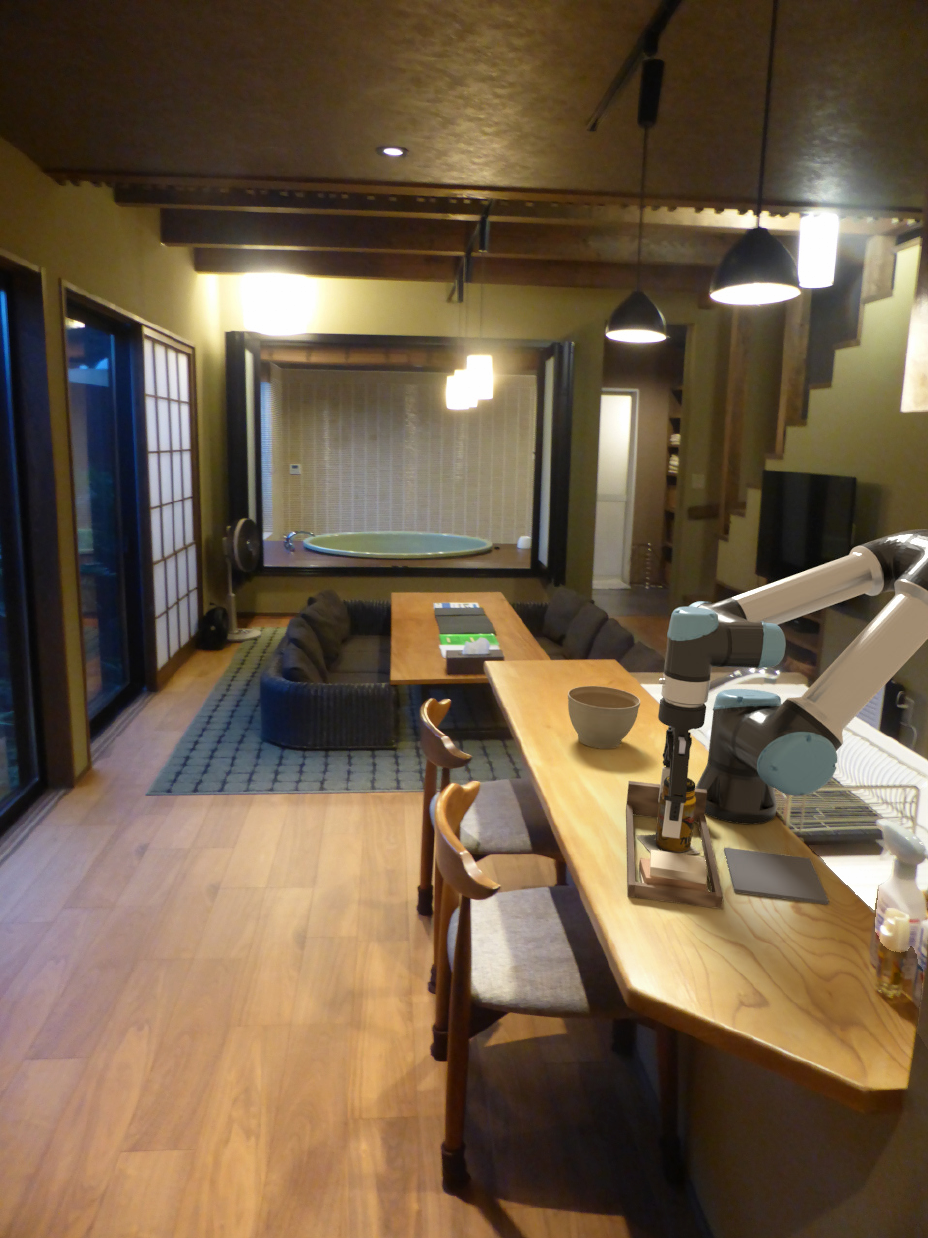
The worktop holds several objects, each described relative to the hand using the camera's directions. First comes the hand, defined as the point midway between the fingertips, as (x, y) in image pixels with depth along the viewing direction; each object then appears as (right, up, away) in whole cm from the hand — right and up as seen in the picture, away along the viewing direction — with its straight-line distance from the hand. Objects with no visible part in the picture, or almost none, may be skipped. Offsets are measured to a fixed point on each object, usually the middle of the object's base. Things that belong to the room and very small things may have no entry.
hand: (668, 819), depth 150 cm
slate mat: (+15, -8, -8) cm, 19 cm away
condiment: (0, -5, +1) cm, 5 cm away
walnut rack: (0, -5, -2) cm, 6 cm away
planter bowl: (-4, +6, +49) cm, 49 cm away
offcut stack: (-2, -8, -12) cm, 15 cm away
